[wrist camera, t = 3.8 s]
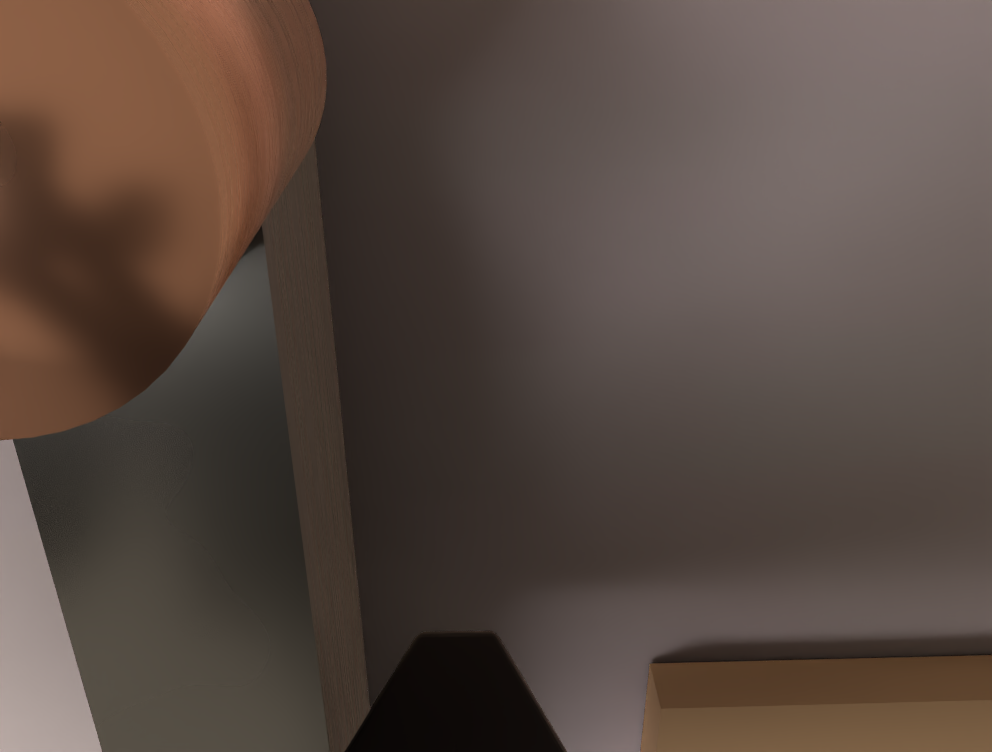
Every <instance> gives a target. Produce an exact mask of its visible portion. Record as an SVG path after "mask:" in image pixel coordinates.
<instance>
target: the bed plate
mask: <svg viewBox="0 0 992 752" xmlns="http://www.w3.org/2000/svg"><path fill="white" fill-rule="evenodd" d="M640 752H992V655H975V656H935V657H895V658H854V659H814V660H773V661H733V662H693V663H652V664H650V665H649V674H648V684H647V693H646V703H645V713H644V722H643V732H642V741H641V751H640Z"/></svg>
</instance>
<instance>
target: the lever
mask: <svg viewBox="0 0 992 752" xmlns="http://www.w3.org/2000/svg"><path fill="white" fill-rule="evenodd" d="M326 87H327V77H326V60H325V53H324V46H323V41H322V37H321V34H320V30H319V27H318V23H317V20H316V18H315V15H314V13H313V10H312V8H311V5H310V3H309V1H308V0H0V440H9V439H13V441H14V445H15V448H16V452H17V455H18V459H19V462H20V466H21V469H22V473H23V476H24V480H25V483H26V487H27V490H28V494H29V497H30V501H31V504H32V508H33V511H34V515H35V518H36V522H37V525H38V529H39V532H40V535H41V539H42V542H43V546H44V549H45V553H46V556H47V560H48V563H49V567H50V570H51V574H52V577H53V581H54V584H55V588H56V591H57V595H58V598H59V602H60V605H61V609H62V612H63V616H64V619H65V623H66V626H67V630H68V633H69V637H70V640H71V644H72V647H73V651H74V654H75V658H76V661H77V665H78V668H79V672H80V675H81V679H82V682H83V686H84V689H85V693H86V696H87V700H88V703H89V707H90V710H91V714H92V717H93V721H94V724H95V727H96V731H97V734H98V738H99V741H100V745H101V748H102V752H344V751H345V750H346V748H347V747H348V745H349V743H350V742H351V740H352V738H353V737H354V735H355V734H356V732H357V730H358V729H359V727H360V726H361V724H362V722H363V721H364V719H365V717H366V716H367V714H368V713H369V711H370V703H369V693H368V682H367V672H366V662H365V651H364V641H363V631H362V620H361V610H360V600H359V590H358V579H357V569H356V559H355V548H354V538H353V528H352V517H351V507H350V497H349V487H348V476H347V466H346V456H345V445H344V435H343V425H342V415H341V404H340V394H339V384H338V373H337V363H336V353H335V342H334V332H333V322H332V312H331V301H330V291H329V281H328V270H327V260H326V250H325V239H324V229H323V219H322V209H321V198H320V188H319V178H318V167H317V157H316V147H315V136H316V133H317V131H318V128H319V126H320V122H321V118H322V114H323V110H324V106H325V97H326Z"/></svg>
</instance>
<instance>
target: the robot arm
mask: <svg viewBox="0 0 992 752" xmlns="http://www.w3.org/2000/svg"><path fill="white" fill-rule="evenodd" d="M344 752H567V751H566V749H565V747H564V746H563V744H562V742H561V741H560V739H559V737H558V735H557V734H556V732H555V730H554V729H553V727H552V725H551V724H550V722H549V720H548V719H547V717H546V715H545V714H544V712H543V710H542V708H541V707H540V705H539V703H538V702H537V700H536V698H535V697H534V695H533V693H532V692H531V690H530V688H529V686H528V685H527V683H526V681H525V680H524V678H523V676H522V675H521V673H520V671H519V670H518V668H517V666H516V665H515V663H514V661H513V659H512V658H511V656H510V654H509V653H508V651H507V649H506V648H505V646H504V644H503V643H502V641H501V639H500V638H499V636H498V635H497V634H496V633H494V632H492V631H426V632H422V633H420V634H418V635H417V636H416V637H415V639H414V640H413V642H412V643H411V645H410V646H409V648H408V650H407V651H406V653H405V654H404V656H403V658H402V659H401V661H400V663H399V664H398V666H397V667H396V669H395V671H394V672H393V674H392V675H391V677H390V679H389V680H388V682H387V684H386V685H385V687H384V688H383V690H382V692H381V693H380V695H379V696H378V698H377V700H376V701H375V703H374V705H373V706H372V708H371V709H370V711H369V713H368V714H367V716H366V717H365V719H364V721H363V722H362V724H361V726H360V727H359V729H358V730H357V732H356V734H355V735H354V737H353V738H352V740H351V742H350V743H349V745H348V747H347V748H346V750H345V751H344Z"/></svg>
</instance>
